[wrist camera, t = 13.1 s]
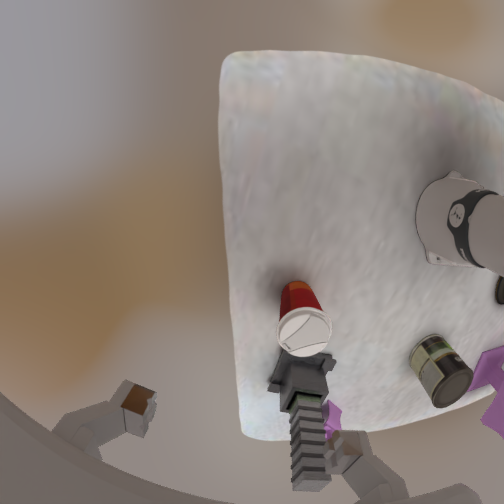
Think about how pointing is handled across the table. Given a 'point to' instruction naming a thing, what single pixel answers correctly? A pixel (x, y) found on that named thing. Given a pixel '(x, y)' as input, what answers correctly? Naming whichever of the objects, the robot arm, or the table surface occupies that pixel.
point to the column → (307, 444)
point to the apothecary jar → (500, 290)
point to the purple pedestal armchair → (489, 372)
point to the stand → (300, 377)
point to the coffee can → (440, 370)
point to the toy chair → (332, 420)
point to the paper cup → (302, 321)
